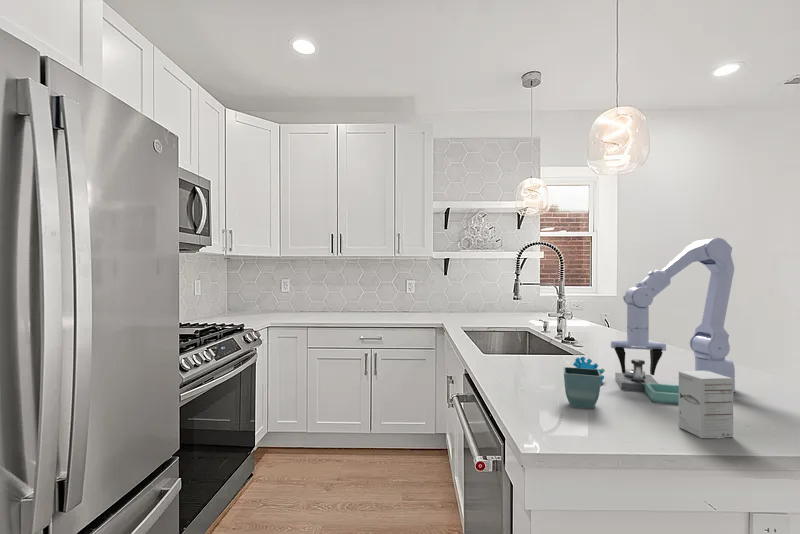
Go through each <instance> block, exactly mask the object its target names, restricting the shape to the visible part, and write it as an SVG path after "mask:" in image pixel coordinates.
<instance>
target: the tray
mask: <svg viewBox="0 0 800 534" xmlns="http://www.w3.org/2000/svg"><path fill="white" fill-rule="evenodd" d="M644 393H645V395H647V397H648V398H649V400H650V401H651V402H652V403H661V404H662V403H663V404H673V405H675V404H676V405H679V384H669V383H668V384H667V383H658V384H653V383H645V391H644Z"/></svg>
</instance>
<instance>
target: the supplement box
mask: <svg viewBox="0 0 800 534" xmlns="http://www.w3.org/2000/svg"><path fill="white" fill-rule="evenodd" d="M678 385H679V404H678V428H680V429H682V430H685V431H686V432H689V433H691V435H692V434H693V435H695V436H697V437H699V438H700V439H702V438H716V439H723V438H722V437H733V438H734V392H733V378H730V377H726V376H723V375H720V374H716V373H713V372H710V371H695V370H681V371H680V370H679V371H678ZM719 437H720V438H719Z"/></svg>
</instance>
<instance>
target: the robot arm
mask: <svg viewBox="0 0 800 534" xmlns="http://www.w3.org/2000/svg"><path fill="white" fill-rule="evenodd" d="M732 251H733V247H732V245H730V244H729V243H728V242H727V240H725V239H724V238H721V237H715V238H710V239H709V238H708V239H707V238H706V239H697V240H694V241H693V242H691V244H688V245H687V246H685V248H684V249H683V250H682V251H681V252H680V253H679V254H678V255H677V256H676V257H674V258H673V260H671V261H670V262H669V263H668V264H667V265H666V266H665V267H663V268H662V269H661V270H660V269H655V270H650V271H648V273H647V276H646V277H644V279H642V280H641V281H637V282H636V283H635V286H633V287H630V288H628V289H626V291H625V294H624V295H623V296H622V298H623V302H624V303H625V304H626V308H627V309H626V340H610V348H611V349H613V350H614V351H615V353H616V356H617V357H618V361H619V364H620V366H621V367H620V368H621V373H625V369H626V351H625V350H626V349H628V350H630V349H632V350H646V351H649V355H650V364H649V365H650V366H649V375H651V376H655V372H656V368H657V365H658V363H659V361H660V360H661V358H662V355H663V352H666V351H667V344H666V343H663V342H653V341H652V342H650V341H649V339H650V338H649V333H650V331H649V330H650V329H649V328H650V327H649V326H650V325H649V324H650V323H649V322H650V320H649V319H650V317H649V315H650V313H649V311H650V310H649V306H651V305H652V303H653V302H654V298H655V297H656V296H658V295H659V294H660V293H661V292H663V291H664V290H665V289H666V288H668V287H669V286H670V285H671V283H672V282H671V279H672V278H674V277H675V276H676V275H677V274H679V273H680V272H682V271H684V269H685V268H687V267H688V266H690V265H691V264H692V263H695V262H699V263H701V264H702V265H704V266H705V267H706V268H707V270H709V271H710V276H709V282H708V288H707V293H706V299H705V304H704V308H703V312H702V313H703V314H702V319H701V320H702V321H701V323H700V324H699V325H698V326H697V327H696V328H695V331H694V333H693V335H692V336H691V337H690V339H689V347H690V349H691V350H692V352H693V353H694V371H710V372H713V373H716V374H720V375H723V376H726V377H730V378H733V393H734V392H735V393H736V392H737V390H736V384H735V383H736V379H735V377H736V374H735V373H736V371H735V364H734V361H733V360H732V359H730V358H726V357H727V356H728V355H729V354H730V350H731V346H730V343H729V338H730V337H729V336H730V335H729V333H728V332H727V330H726V329H725V327H724V326H725V320H726V318H727V317H726V316H727V309H728V306H729V305H728V304H729V299H730V294H731V288H732V285H733V284H732V283H733V278H734V274H735V273H734V272H735V265H734V261H733V257H732V253H733V252H732Z"/></svg>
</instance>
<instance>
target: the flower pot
mask: <svg viewBox="0 0 800 534" xmlns="http://www.w3.org/2000/svg"><path fill="white" fill-rule="evenodd" d="M598 369H599V368H596V369H585V368H578V367H577V368H576V367H569V366H565V367H563V378H564V379H563V381H564V390H565V391H564V392H565V396H566V399H567V400H568V401H567V402H568V403H569V406H570V407H571V408H577V409H578V408H579V409H588V410H592V409H594V407H595V406H596V404H597V402H598V400H599V397H600V392H601V384H602V383H601V375H602V374H600V372H599V370H598Z"/></svg>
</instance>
